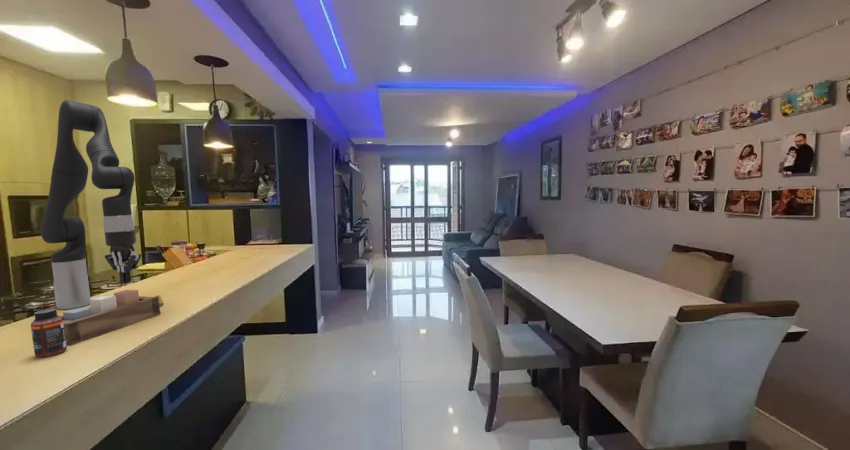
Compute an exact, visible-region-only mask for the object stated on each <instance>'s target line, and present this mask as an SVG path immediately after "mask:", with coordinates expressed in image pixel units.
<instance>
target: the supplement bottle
mask: <svg viewBox="0 0 850 450" xmlns="http://www.w3.org/2000/svg"><path fill="white" fill-rule="evenodd" d="M30 330H31V331H30V332H31V337H32V345H33V350H34V356H35V357H36V358H47V357H52V356H55V355H59V354H61V353H63V351H64V352H65V351H66V350H67V346H68V345H66V338H65V331H64V323H63V318H62V317H61V315H58V311H57V308H47V309H46V308H45V309H42V310H41V309H40V310H38V311H36V312H34V320H33V321H32V322H30Z"/></svg>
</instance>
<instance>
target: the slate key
mask: <svg viewBox="0 0 850 450" xmlns="http://www.w3.org/2000/svg"><path fill="white" fill-rule="evenodd" d="M62 315H63V316H64V320H68V321H73V320H77V319H80V318H83V317H87V316H90V315H92V310H91V308H90V307H78V308H72V309H69V310H67V311H66V310H65V311H63V312H62Z"/></svg>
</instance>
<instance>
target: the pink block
mask: <svg viewBox="0 0 850 450" xmlns="http://www.w3.org/2000/svg"><path fill="white" fill-rule="evenodd" d="M113 296H116V303H117V307H121V306H124V305H128V304H131V303H134V302H138V301H139V296H140V293H139V289H124V290H122V291H118V292H114V293H113Z"/></svg>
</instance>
